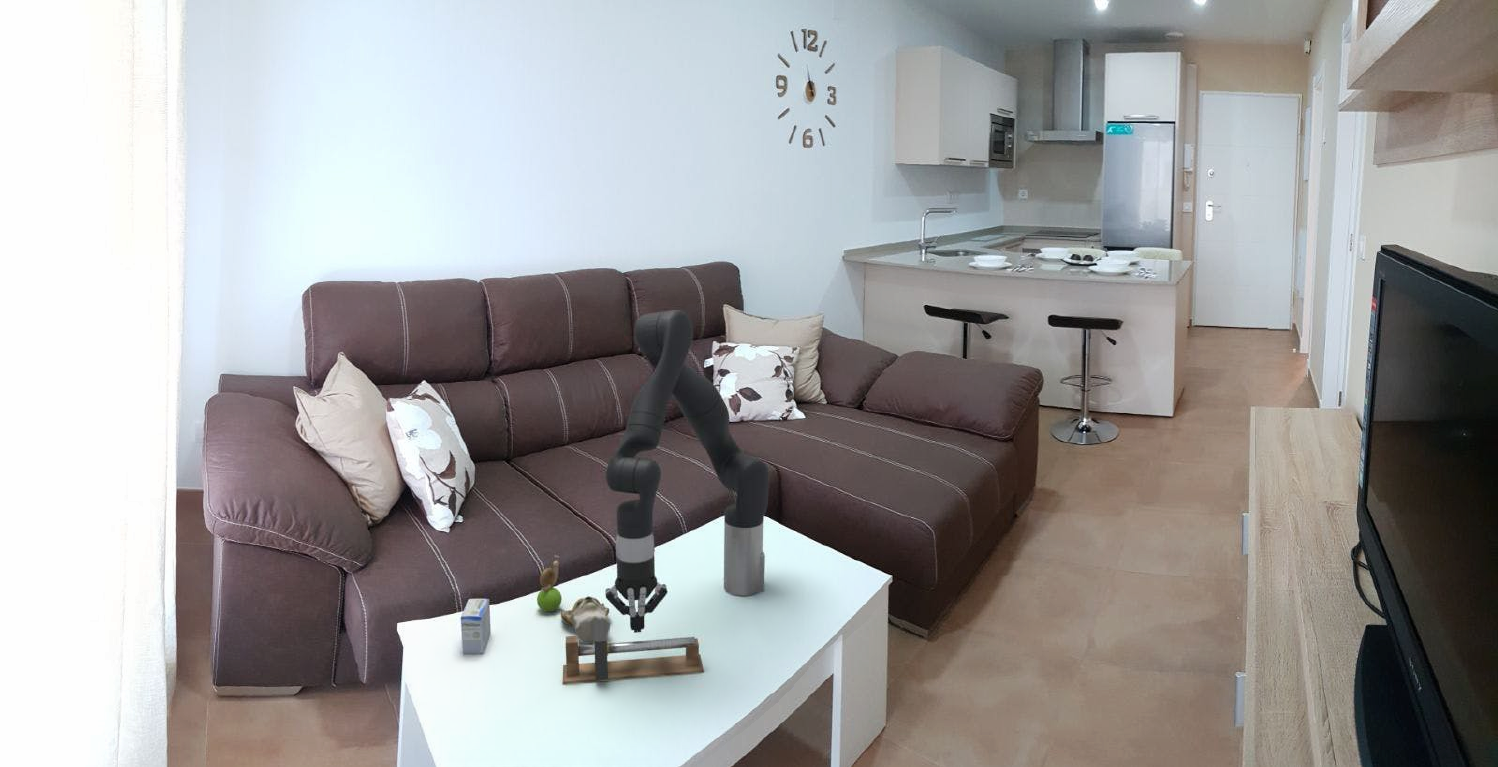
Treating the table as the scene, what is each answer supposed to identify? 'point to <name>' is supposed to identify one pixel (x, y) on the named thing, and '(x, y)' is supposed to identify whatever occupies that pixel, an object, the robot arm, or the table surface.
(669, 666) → the stand
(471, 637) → the medicine box
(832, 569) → the table surface
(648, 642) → the pipe
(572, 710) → the table surface
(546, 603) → the snail figurine
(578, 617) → the ceramic sculpture
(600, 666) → the dark grey frame
